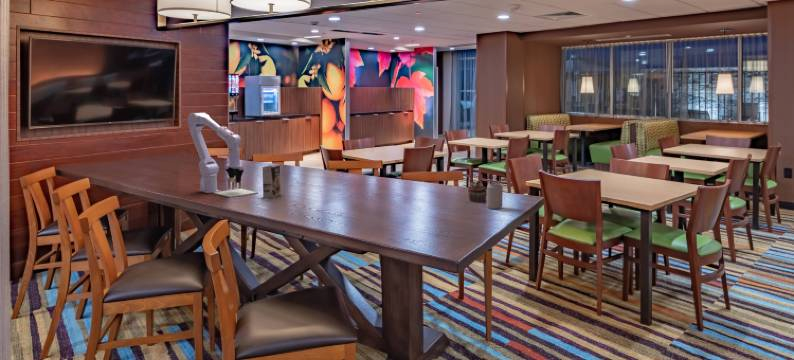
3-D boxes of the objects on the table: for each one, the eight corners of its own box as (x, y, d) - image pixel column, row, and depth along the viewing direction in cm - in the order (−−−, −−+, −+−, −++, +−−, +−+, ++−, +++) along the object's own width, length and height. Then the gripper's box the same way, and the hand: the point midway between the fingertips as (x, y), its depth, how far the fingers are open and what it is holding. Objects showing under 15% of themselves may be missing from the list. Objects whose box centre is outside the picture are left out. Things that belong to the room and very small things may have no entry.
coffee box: (274, 197, 294) (273, 167, 291) (262, 197, 295) (261, 167, 292) (281, 194, 302) (280, 165, 300) (270, 194, 304) (269, 164, 301)
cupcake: (475, 203, 280) (475, 183, 279) (464, 200, 289) (464, 181, 287) (490, 201, 285) (491, 182, 283) (479, 198, 293) (480, 179, 292)
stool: (227, 188, 305) (227, 178, 304) (236, 187, 309) (235, 177, 308) (232, 189, 301) (232, 179, 300) (241, 188, 305) (241, 178, 304)
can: (490, 205, 275) (491, 181, 273) (504, 207, 270) (505, 183, 268) (483, 208, 268) (484, 183, 267) (498, 210, 264) (498, 185, 262)
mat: (213, 193, 305) (213, 192, 305) (241, 189, 318) (241, 188, 317) (229, 197, 294) (229, 196, 294) (257, 193, 306) (257, 192, 306)
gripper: (220, 156, 305) (221, 181, 307) (234, 158, 295) (235, 184, 297) (232, 155, 310) (233, 179, 312) (246, 157, 300) (247, 182, 302)
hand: (235, 181), depth 305 cm, fingers closed on stool, 5 cm apart
